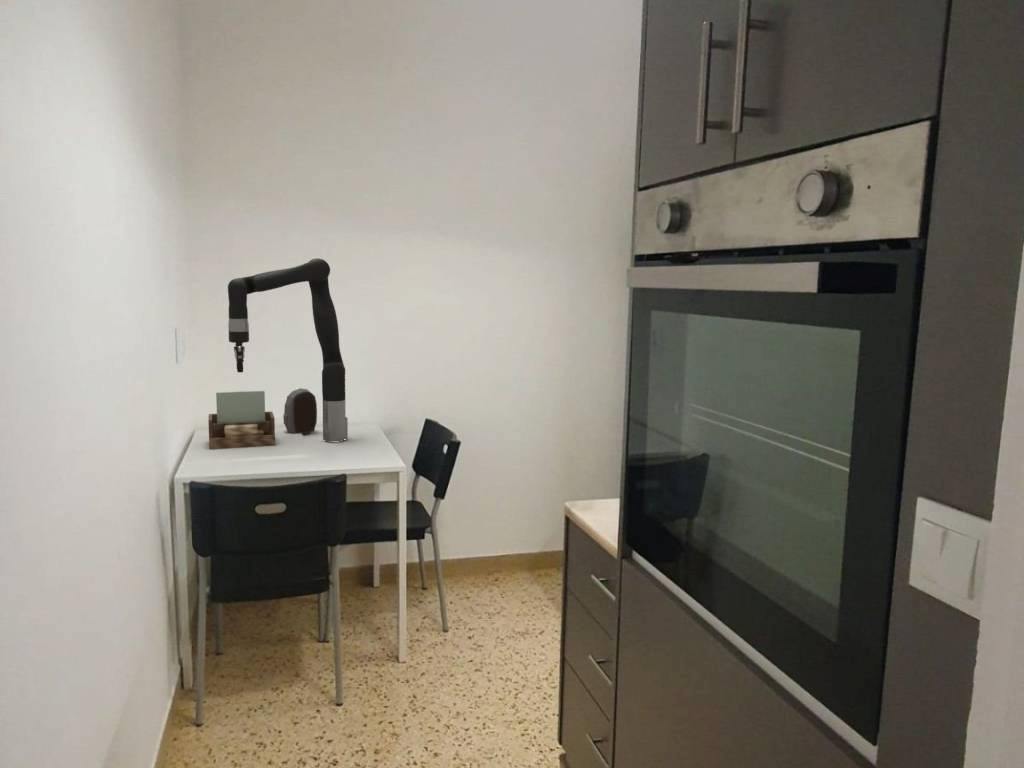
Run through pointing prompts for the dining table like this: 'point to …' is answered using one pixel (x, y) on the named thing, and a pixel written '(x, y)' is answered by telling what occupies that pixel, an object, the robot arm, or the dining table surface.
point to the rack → (220, 442)
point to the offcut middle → (259, 433)
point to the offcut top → (241, 429)
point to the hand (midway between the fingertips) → (239, 370)
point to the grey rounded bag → (300, 412)
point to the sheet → (240, 406)
